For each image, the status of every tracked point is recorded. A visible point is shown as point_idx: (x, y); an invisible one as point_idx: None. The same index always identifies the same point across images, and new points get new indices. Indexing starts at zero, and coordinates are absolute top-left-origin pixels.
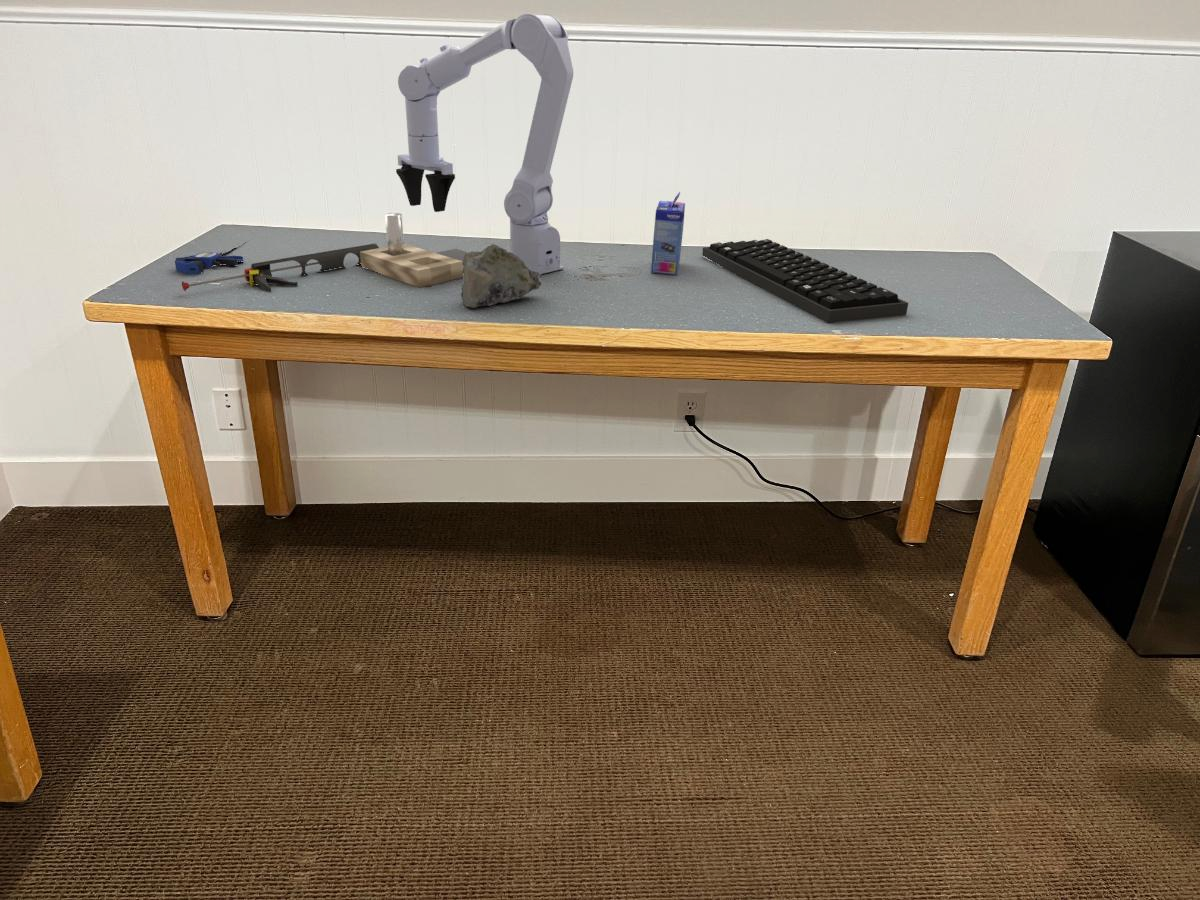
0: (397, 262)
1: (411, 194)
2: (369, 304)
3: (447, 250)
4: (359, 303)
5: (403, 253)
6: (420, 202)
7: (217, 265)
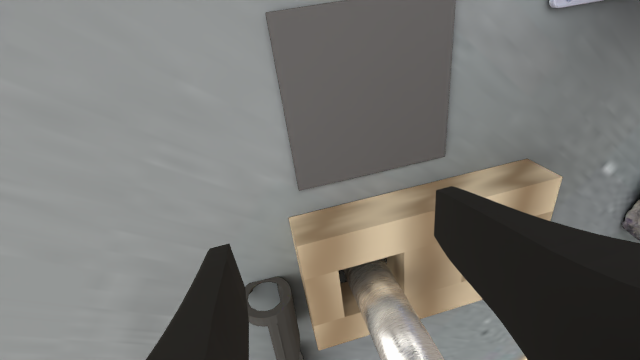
0: (456, 302)
1: (242, 345)
2: (510, 335)
3: (275, 60)
4: (496, 344)
5: (390, 271)
6: (228, 251)
7: None
